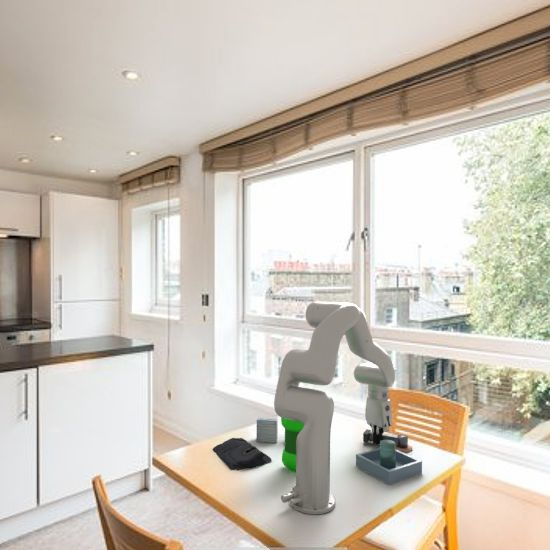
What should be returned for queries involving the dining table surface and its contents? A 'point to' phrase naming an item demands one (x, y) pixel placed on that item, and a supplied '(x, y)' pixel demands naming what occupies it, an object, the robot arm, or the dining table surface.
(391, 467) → the teal cylinder
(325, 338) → the robot arm
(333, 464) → the dining table surface
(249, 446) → the dark slate chunk
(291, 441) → the plastic bottle
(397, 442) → the crank lever
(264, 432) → the medicine box
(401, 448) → the crank base
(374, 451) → the tray
